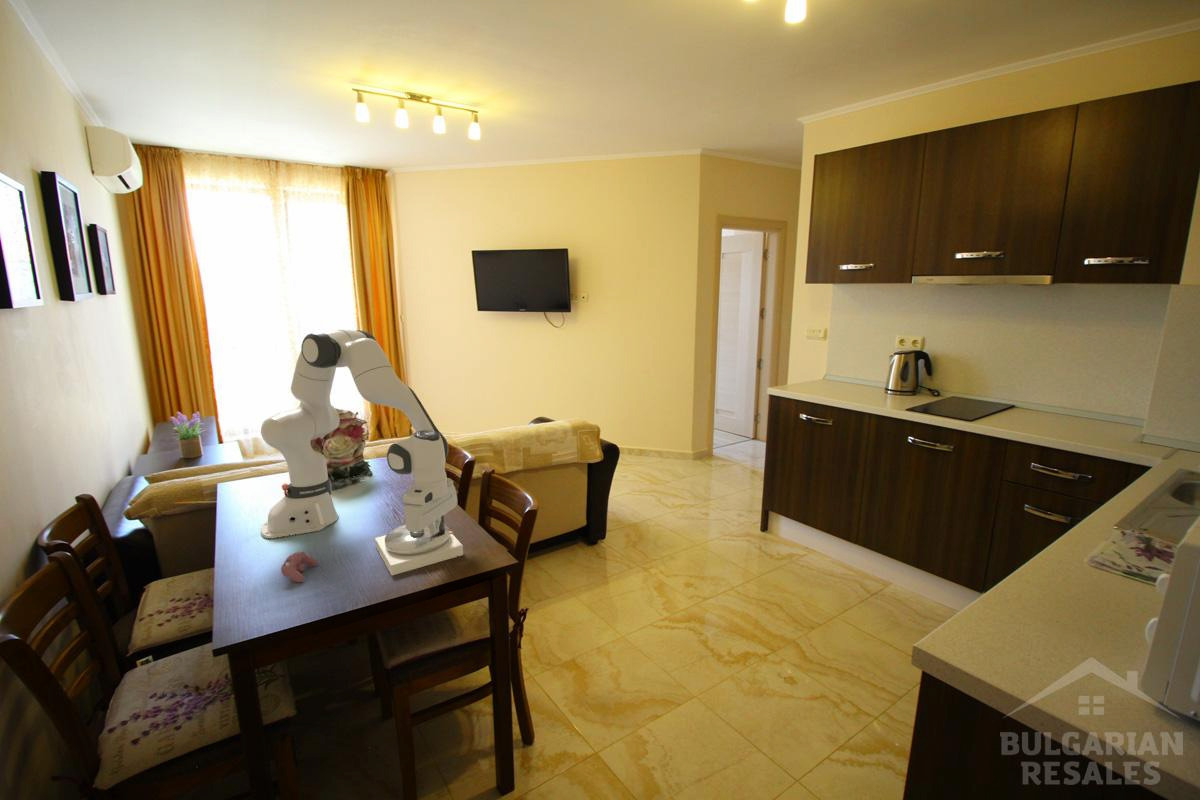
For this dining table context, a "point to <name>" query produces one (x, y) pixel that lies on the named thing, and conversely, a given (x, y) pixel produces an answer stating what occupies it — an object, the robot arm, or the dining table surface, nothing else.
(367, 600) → the dining table surface
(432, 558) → the wheel base
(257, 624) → the dining table surface
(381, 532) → the dining table surface
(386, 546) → the handwheel
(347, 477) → the rose bouquet
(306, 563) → the pink curved piece
